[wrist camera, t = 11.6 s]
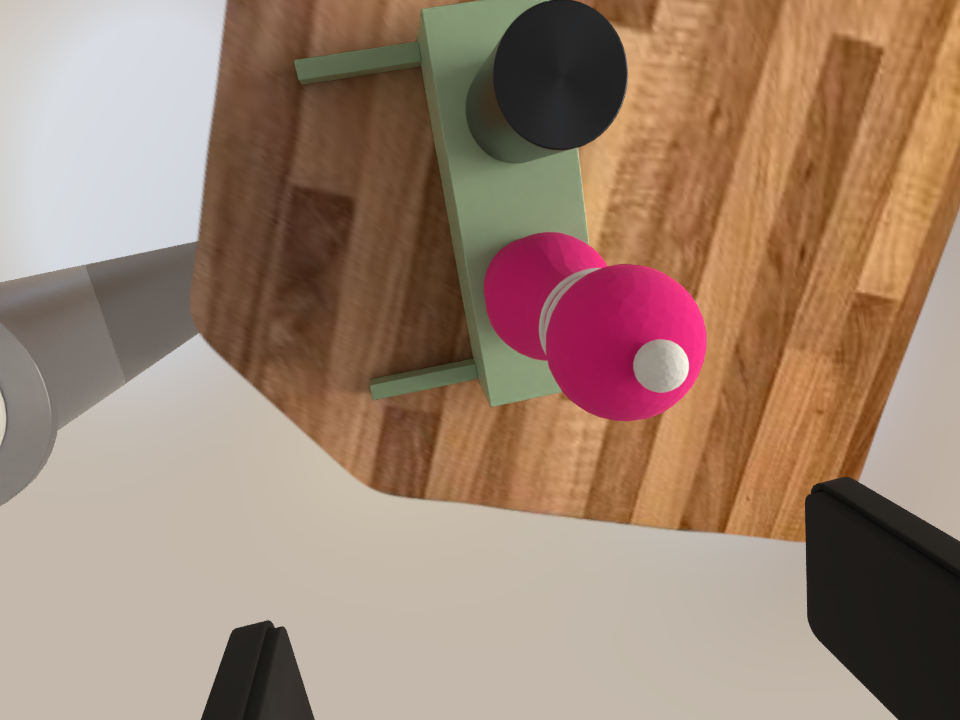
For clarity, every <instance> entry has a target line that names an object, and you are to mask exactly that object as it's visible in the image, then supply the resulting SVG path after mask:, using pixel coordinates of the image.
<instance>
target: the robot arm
mask: <svg viewBox="0 0 960 720" xmlns="http://www.w3.org/2000/svg"><path fill="white" fill-rule="evenodd" d="M5 428H6V411H5V403H4V400H3V397H2V394H1V391H0V446H1V443H2V440H3V437H4V434H5ZM805 526H806V572H807V573H806V575H807V617H808V622H809V625H810V627H811V630H812V632H813V633H814V635H815V636H816V637H817V639H818V640H819V641H820V642H821V643H822V644H823V645H824V646H825V647H826V648H827V649H828V650H829V651H830V652H831V653H832V654H833V655H834V656H835V657H836V658H837V659H838V660H839V661H840V662H841V663H842V664H843V665H844V666H845V667H846V668H847V669H848V670H849V671H850V672H851V673H852V674H853V675H854V676H855V677H856V678H857V679H858V680H859V681H860V682H861V683H862V684H863V685H864V686H865V687H866V688H867V689H868V690H869V691H870V692H871V693H872V694H873V695H874V696H875V697H876V698H877V699H878V700H879V701H880V702H881V703H882V704H883V705H884V706H885V707H886V708H887V709H888V710H889V711H890V712H891V713H892V714H893V715H894V716H895V717H896V718H897V719H898V720H960V541H958V540H957V539H955V538H953V537H951V536H950V535H948V534H946V533H945V532H943V531H941V530H939V529H938V528H936V527H934V526H932V525H931V524H929V523H927V522H926V521H924V520H922V519H921V518H919V517H917V516H916V515H914V514H912V513H910V512H909V511H907V510H905V509H903V508H902V507H900V506H898V505H897V504H895V503H893V502H892V501H890V500H888V499H886V498H885V497H883V496H881V495H879V494H877V493H876V492H875V491H873V490H871V489H869V488H868V487H866V486H864V485H863V484H861V483H859V482H857V481H856V480H854V479H852V478H849V477H842V478H838V479H834V480H830V481H826V482H822V483H818V484H816V485H814V486H813V488H812V490H811V494H809V495H808V496H807V497H806V499H805ZM201 720H315V719H314V716H313V713H312V710H311V707H310V704H309V701H308V697H307V694H306V691H305V688H304V684H303V681H302V678H301V675H300V672H299V669H298V665H297V662H296V659H295V656H294V652H293V649H292V646H291V643H290V640H289V637H288V634H287V631H286V629H285V627H283V626H282V627H278V628H275V627H274V625H273V623H272V622H271V621H269V620H268V621H264V622H260V623H256V624H251V625H247V626H244V627H240V628H236V629H234V630H233V631H232V633H231V635H230V638H229V641H228V643H227V646H226V649H225V652H224V655H223V658H222V661H221V664H220V666H219V669H218V672H217V675H216V678H215V681H214V683H213V687H212V689H211V692H210V695H209V698H208V701H207V704H206V707H205V710H204V712H203V715H202V718H201Z"/></svg>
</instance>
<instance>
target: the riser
mask: <svg viewBox="0 0 960 720" xmlns="http://www.w3.org/2000/svg"><path fill="white" fill-rule="evenodd" d="M545 1H549V0H479V1H472V2H465V3H458V4H452V5H445V6H438V7H431V8H424V9H422V10H421V16H420V22H419V29H418V35H417V41H416V42H411V43H404V44H398V45H391V46H384V47H378V48H371V49H365V50H358V51H352V52H345V53H338V54H332V55H325V56H319V57H312V58H305V59H299V60H294V64H295V68H296V72H297V76H298V80H299V81H300V83H301V84H302V85H305V84H311V83H318V82H324V81H330V80H337V79H343V78H350V77H356V76H362V75H369V74H375V73H382V72H388V71H395V70H401V69H407V68H414V67H420V66H421V70H422V76H423V81H424V87H425V92H426V98H427V104H428V109H429V115H430V120H431V126H432V131H433V137H434V143H435V148H436V154H437V159H438V165H439V171H440V176H441V182H442V187H443V193H444V198H445V204H446V210H447V215H448V221H449V226H450V232H451V238H452V243H453V249H454V254H455V260H456V265H457V271H458V277H459V282H460V288H461V293H462V299H463V305H464V310H465V316H466V321H467V327H468V332H469V338H470V344H471V349H472V355H473V359H468V360H463V361H458V362H454V363H449V364H444V365H439V366H434V367H429V368H424V369H419V370H414V371H409V372H404V373H399V374H394V375H389V376H384V377H380V378H375V379H370V390H371V394H372V399H373V400H377V399H382V398H387V397H392V396H396V395H401V394H406V393H411V392H416V391H421V390H426V389H430V388H435V387H440V386H445V385H450V384H455V383H460V382H464V381H469V380H474V379H478V381H479V383H480V385H481V387H482V390H483V392H484V394H485V396H486V398H487V400H488V402H489V404H490V406H491V407H494V406H498V405H503V404H508V403H512V402H517V401H522V400H527V399H531V398H536V397H541V396H546V395H550V394H555V393H560V392H562V390H561V389H560V387H559V386H558V384H557V383H556V381H555V379H554V377H553V375H552V373H551V371H550V369H549V366H548V361H543V360H537V359H532V358H530V357H527V356H525V355H522V354H520V353H518V352H517V351H515V350H514V349H512V348H511V347H510V346H508V345H507V344H506V343H504V341H503V340H502V339H501V338H500V337H499V336H498V335H497V333H496V332H495V330H494V328H493V327H492V325H491V323H490V320H489V317H488V314H487V310H486V302H485V296H484V279H485V274H486V271H487V268H488V266H489V264H490V262H491V261H492V259H493V258H494V256H495V255H496V254H497V253H498V252H499V251H500V250H501V249H502V248H503V247H505V246H506V245H508V244H509V243H511V242H513V241H515V240H518V239H521V238H525V237H527V236H530V235H533V234H536V233H543V232H560V233H563V234H567V235H570V236H573V237H575V238H577V239H579V240H581V241H583V242H585V243H586V244H588V245H589V240H588V231H587V223H586V214H585V205H584V197H583V188H582V180H581V171H580V162H579V154H578V148H575V149H571V150H568V151H564V152H561V153H557V154H554V155H550V156H547V157H543V158H540V159H536V160H532V161H529V162H525V163H507V162H503V161H500V160H497V159H495V158H493V157H491V156H490V155H488V154H487V153H486V152H485V151H484V150H482V149H481V147H480V146H479V145H478V144H477V143H476V141H475V140H474V138H473V136H472V134H471V132H470V130H469V127H468V123H467V119H466V98H467V94H468V90H469V88H470V85H471V83H472V81H473V79H474V77H475V76H476V74H477V73H478V71H479V70H480V68H481V67H482V65H483V64H484V62H485V61H486V60H487V58H488V57H489V55H490V54H491V52H492V51H493V49H494V48H495V46H496V45H497V43H498V42H499V40H500V39H501V37H502V36H503V34H504V33H505V31H506V30H507V29H508V27H509V26H510V25H511V23H512V22H513V21H514V20H515V19H516V18H517V17H518V16H519V15H520V14H522V13H523V12H524V11H526V10H527V9H529V8H531V7H532V6H534V5H537V4H539V3H542V2H545Z"/></svg>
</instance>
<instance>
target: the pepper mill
mask: <svg viewBox="0 0 960 720" xmlns="http://www.w3.org/2000/svg"><path fill="white" fill-rule="evenodd" d="M484 296H485V302H486V310H487V314H488V317H489V320H490V323H491V325H492V327H493V328H494V330H495V332H496V333H497V335H498V336H499V337H500V338H501V339H502V340H503V341H504V343H506V344H507V345H508V346H510V347H511V348H512V349H514V350H515V351H517V352H518V353H520V354H522V355H525V356H527V357H530V358H532V359H537V360H543V361H548V366H549V369H550V371H551V373H552V375H553V377H554V379H555V381H556V383H557V384H558V386H559V387H560V389H561V390H562V392H563V393H564V394H565V395H566V396H567V397H568V398H569V399H570V400H571V401H572V402H574V403H575V404H576V405H578V406H579V407H581V408H582V409H584V410H585V411H587V412H589V413H591V414H594V415H596V416H598V417H601V418H606V419H610V420H616V421H634V420H641V419H647V418H650V417H653V416H655V415H658V414H660V413H663V412H664V411H666V410H667V409H669V408H670V407H672V406H673V405H675V404H676V403H677V402H678V401H679V400H680V399H682V398H683V397H684V396H685V394H686V393H687V392H688V391H689V390H690V388H691V387H692V386H693V384H694V382H695V380H696V379H697V377H698V375H699V373H700V370H701V367H702V364H703V362H704V357H705V352H706V329H705V324H704V320H703V317H702V315H701V313H700V310H699V308H698V306H697V304H696V303H695V301H694V299H693V298H692V296H691V295H690V294H689V293H688V292H687V291H686V290H685V289H684V288H683V286H681V285H680V284H679V283H677V282H676V281H675V280H673V279H672V278H670V277H669V276H667V275H666V274H664V273H662V272H660V271H657V270H655V269H653V268H649V267H645V266H640V265H631V264H619V265H614V266H608V267H607V265H606V263H605V262H604V260H603V259H602V257H601V256H600V255H599V254H598V253H597V252H596V251H595V250H594V249H593V248H592V247H590V246H589V245H588V244H586V243H585V242H583V241H581V240H579V239H577V238H575V237H573V236H570V235H567V234H563V233H560V232H543V233H536V234H533V235H530V236H527V237H525V238H521V239H518V240H515V241H513V242H511V243H509V244H508V245H506V246H505V247H503V248H502V249H501V250H500V251H499V252H498V253H497V254H496V255H495V256H494V258H493V259H492V261H491V262H490V264H489V266H488V268H487V271H486V274H485V279H484Z"/></svg>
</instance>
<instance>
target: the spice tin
mask: <svg viewBox="0 0 960 720" xmlns="http://www.w3.org/2000/svg"><path fill="white" fill-rule="evenodd" d="M627 80H628V66H627V60H626V55H625V51H624V47H623V45H622V42H621V40H620V38H619V36H618V34H617V32H616V31H615V29H614V28H613V26H612V25H611V24H610V22H609V21H608V20H607V19H606V18H605V17H604V16H603V15H601V14H600V13H599V12H598V11H596V10H595V9H593V8H591V7H590V6H588V5H585V4H583V3H580V2H577V1H573V0H549V1H545V2H542V3H539V4H537V5H534V6H532V7H531V8H529V9H527V10H526V11H524V12H523V13H522V14H520V15H519V16H518V17H517V18H516V19H515V20H514V21H513V22H512V23H511V25H510V26H509V27H508V29H507V30H506V31H505V33H504V34H503V36H502V37H501V39H500V40H499V42H498V43H497V45H496V46H495V48H494V49H493V51H492V52H491V54H490V55H489V57H488V58H487V60H486V61H485V62H484V64H483V65H482V67H481V68H480V70H479V71H478V73H477V74H476V76H475V77H474V79H473V81H472V83H471V85H470V88H469V90H468V94H467V98H466V119H467V123H468V127H469V130H470V132H471V134H472V136H473V138H474V140H475V141H476V143H477V144H478V145H479V146H480V147H481V149H482V150H484V151H485V152H486V153H487V154H488V155H490V156H491V157H493V158H495V159H497V160H500V161H503V162H507V163H525V162H529V161H532V160H536V159H540V158H543V157H547V156H550V155H554V154H557V153H561V152H564V151H568V150H571V149H575V148H578V147H581V146H583V145H586V144H588V143H590V142H591V141H593V140H595V139H596V138H597V137H599V136H600V135H601V134H602V133H603V132H604V131H605V130H606V129H607V128H608V127H609V126H610V125H611V123H612V122H613V121H614V119H615V118H616V116H617V114H618V113H619V110H620V108H621V106H622V104H623V101H624V97H625V94H626V89H627Z"/></svg>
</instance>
